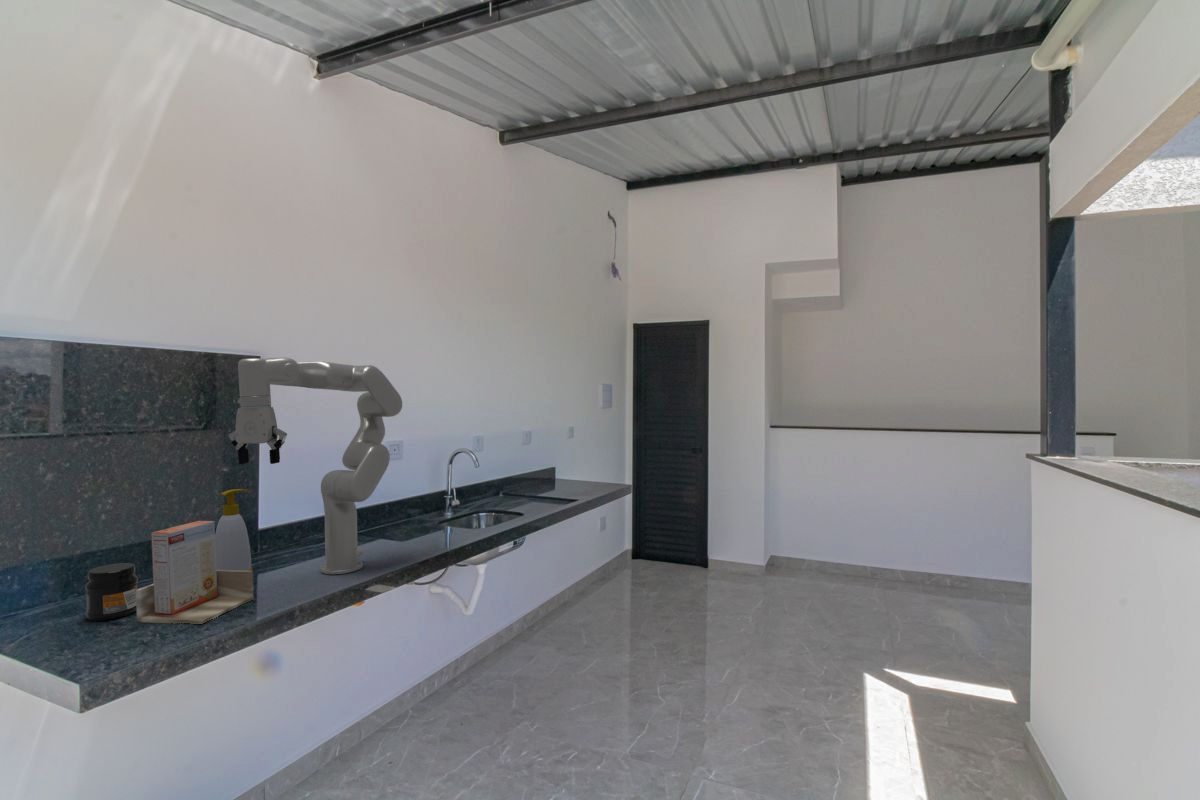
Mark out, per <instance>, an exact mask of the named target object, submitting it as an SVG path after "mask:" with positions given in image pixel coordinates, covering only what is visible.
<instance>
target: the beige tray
mask: <svg viewBox="0 0 1200 800" xmlns="http://www.w3.org/2000/svg"><path fill="white" fill-rule="evenodd" d="M216 574H217V597H215V598H212V599H210V600H207V601H205V602H202V603H200V604H197V605H195V606H192V607H190V608H188V609H185V610H183V611H180V612H178V613H175V614H173V615H170V614H156V613H155V608H154V585H153V583H152V584H148V585H146V586H142V587H140V588H137V590H136V604H137V610H136V622H137V623H150V624H151V623H153V624H171V623H173V624H175V625H185V624H184V623H190V624H189V625H193V624H203V623H205V622H207V621H209V620H211V619H213V620H215V619H217V618H219V617H218V616H219V615H221V614H223V613H225V612H227V611H229V610H231V609H233V608H236V607H238V606H240V605H242V604H244V603H246V602H248V603H250V602H249V601H251V600H253V599H254V570H252V571H243V570H216ZM253 601H254V600H253ZM251 602H252V601H251ZM246 604H247V603H246ZM244 605H245V604H244ZM242 606H243V605H242ZM240 607H241V606H240ZM238 608H239V607H238ZM236 609H237V608H236ZM216 617H217V618H216ZM214 618H215V619H214ZM211 621H212V620H211ZM209 622H210V621H209ZM177 623H178V624H177ZM179 623H180V624H179ZM181 623H183V624H181ZM207 623H208V622H207ZM205 624H206V623H205ZM203 625H204V624H203Z"/></svg>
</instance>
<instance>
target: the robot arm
mask: <svg viewBox="0 0 1200 800" xmlns="http://www.w3.org/2000/svg"><path fill="white" fill-rule="evenodd" d="M237 371H238V385H239V387H238V389H239V398H238V399H237V404H239V405H240V407H238V408H237V411H236V417H235V418H236V419H235V430H233V431H232V432H231V433H229V434H228V438H229V440H230V441H231V445H232V446H234V447H235V450H236V451H237V457H238V464H239V465H244V464H249V462H250V459H249V458H250V457H249V456H250V455H249V448H247V447H248V446H249V444H251V445H252V444H255V445H256V444H258V445H259V444H267V445H268V446H269V448H270V449H269V463H270V465H272V464H273V465H274V464H275V465H276V464H279V463H280V458H281V456H280V455H281V453H280V449H281V448H282V446H283V445H284V444H285V443H286V442H285V441H286V439H287V436H288V433H287V432H285V431H284V430H282V429H280V428H278V424H277V418H276V412H275V409H274V406H272V397H271V385H272V386H274V385H275V386H284V387H287V386H288V387H300V388H307V389H316V390H317V389H318V390H330V391H341V392H351V393H352V392H353V393H356V392H358V393H359V392H361V393H362V392H363V393H362V394H361V395H359V397H358V399H357V402H356V408H357V412H358V415H359V420H360V423H359V428H358V429H357V432H356V433H355V435H354V436H353V438H352V440H351V441H350V442H349V444H348V446H347V448H346V449H345V451H344V452H343V455H342V460H341V461H342V464H343V466H344V467H345V468H347V469H335V470H331V471H329V472H327V473H326V474H324V476H323V478H322V479H321V482H320V493H321V498H322V501H323V502H322V503H323V509H324V510H323V511H324V512H323V513H324V545H325V546H324V548H325V550H324V552H325V553H324V554H325V555H324V556H325V558H324V559H325V564H323V565H321V566H320V571H319V572H320V573H322V574H325V575H343V574H349V573H353V572H357V571H360V570H362V568H363V567H364V562H362V560H359V557H362V556H363V555H364V551H363V550H362V549H358V511H357V506H356V504H355V503H361V502H365V501H367V500H368V499H369V498H370V497H371V496H372V495H373V493H374V492H375V490H376V489H377V487H378V485H379V483H380V482H381V480H382V478H383V476H384V475H385V472H386V470H387V469H388V467H389V464H390V457H391V456H390V450H389V449H388V447H387V446H386V445H384V444H382V442H383V441H384V438H385V435H386V427H385V423H384V419H383V417H384V418H385V417H386V418H390V417H395V416H397V415H399V414H400V412H401V411H402V409H403V400H402V397H401V395H400V393H399V392H398V390H396V388H395V387H394V386H393V384H392V383H391V381H390V380H389V379H388V378H387V376H386V375H385V374H384V373H383V372H382V371H381V370H380V368H378V367H377V366H374V365H372V364H370V365H352V364H351V365H350V364H343V363H336V362H329V361H306V362H305V361H303V362H301V361H296V360H295V359H293V358H290V357H268V358H258V357H256V358H253V357H252V358H242V359H240V360H239V361H238V363H237Z"/></svg>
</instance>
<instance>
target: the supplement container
mask: <svg viewBox="0 0 1200 800" xmlns="http://www.w3.org/2000/svg"><path fill="white" fill-rule="evenodd" d="M135 573H136V565H135V564H134V563H129V562H128V563H127V562H123V563H122V562H121V563H113V564H107V565H102V566H97V567H94V568H92V569H89V571H88V572H87V580H88V582H87V583H86V584H85V594H86V595H85V597H86V599H85V600H86V613H85V614H86V615H85V616H86V617H87V619H88V620H91V621H96V622H97V621H98V622H102V621H103V622H104V621H110V620H111V621H112V620H115V619H120V618H124V617H126V616H129V615H132V614H133V613H134V612H137V604H136V590H137V589H138V581H139V577H138V576H137V575H136V574H135Z"/></svg>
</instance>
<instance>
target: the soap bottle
mask: <svg viewBox="0 0 1200 800" xmlns="http://www.w3.org/2000/svg"><path fill="white" fill-rule="evenodd" d="M238 492H246V493H249V494H252V492H253V491H251V490H249V489H243V488H237V489H236V488H235V489H228V490H225V491H223V492H220V495H221V496H223V497H226V504H223V505H222V516H220V518H219V521H218V523H217V526H216V529H215V546H216V570H243V571H254V569H253V567H252V557H251V556H252V555H251V554H252V553H251V544H250V538H249V533H248V529H247V525H246V522H245V521H244V517H243V516H242V515H241V514H240V508H239V506H240V504H239V503H235V493H238Z"/></svg>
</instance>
